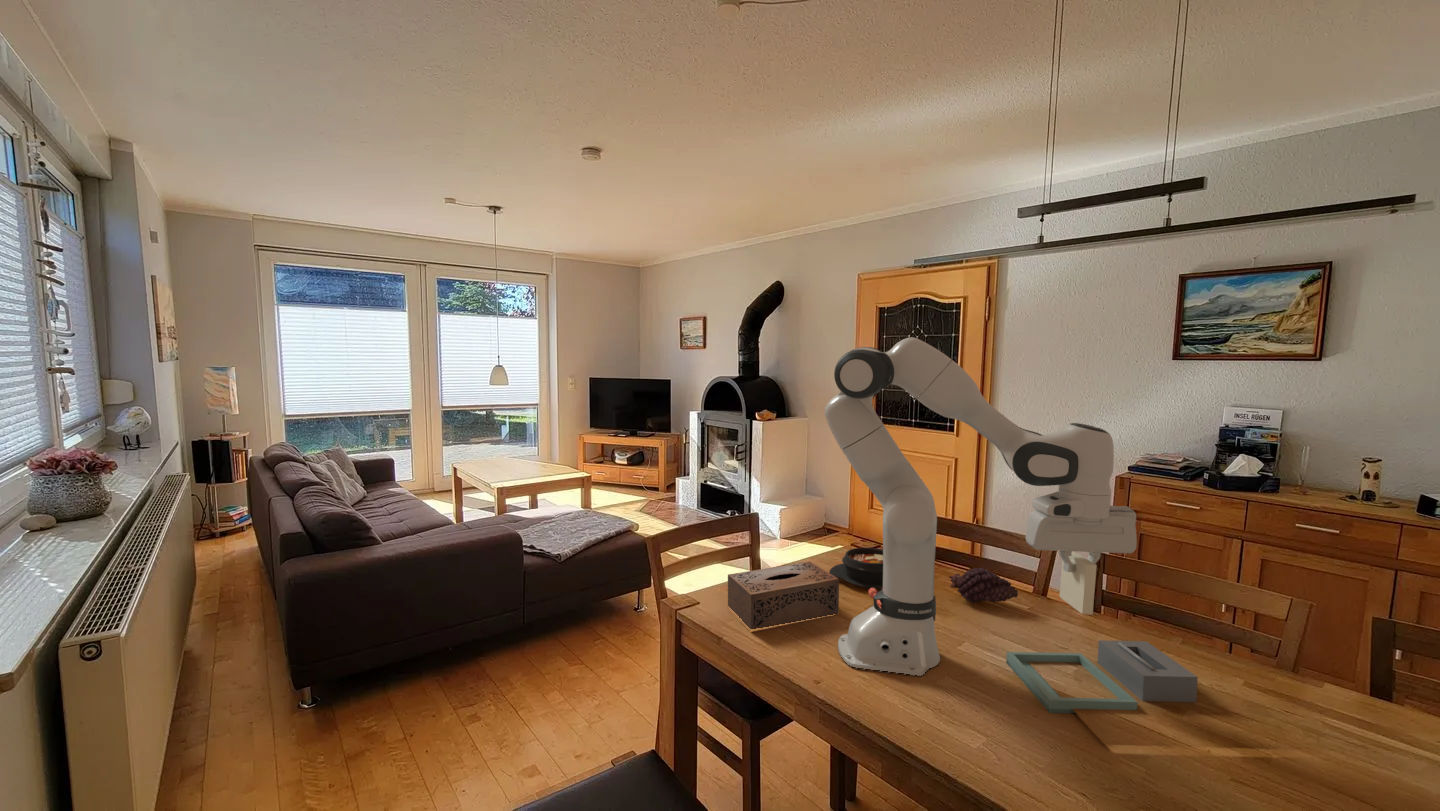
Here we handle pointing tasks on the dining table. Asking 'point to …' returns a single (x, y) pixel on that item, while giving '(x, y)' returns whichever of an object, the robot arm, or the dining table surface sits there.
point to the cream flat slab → (1079, 584)
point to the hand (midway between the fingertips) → (1077, 571)
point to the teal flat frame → (1051, 696)
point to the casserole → (861, 568)
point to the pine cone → (982, 586)
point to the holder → (1147, 671)
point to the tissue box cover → (783, 594)
